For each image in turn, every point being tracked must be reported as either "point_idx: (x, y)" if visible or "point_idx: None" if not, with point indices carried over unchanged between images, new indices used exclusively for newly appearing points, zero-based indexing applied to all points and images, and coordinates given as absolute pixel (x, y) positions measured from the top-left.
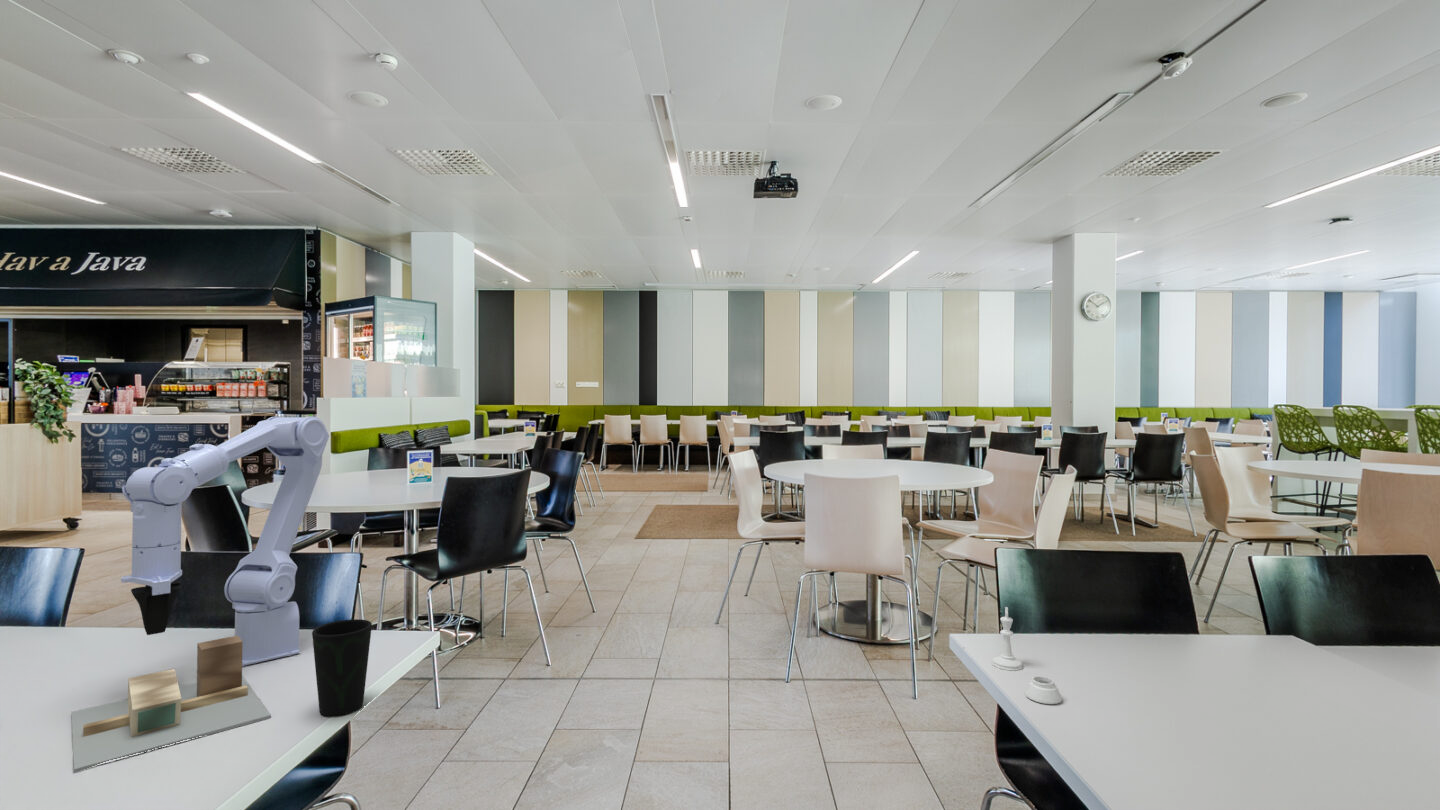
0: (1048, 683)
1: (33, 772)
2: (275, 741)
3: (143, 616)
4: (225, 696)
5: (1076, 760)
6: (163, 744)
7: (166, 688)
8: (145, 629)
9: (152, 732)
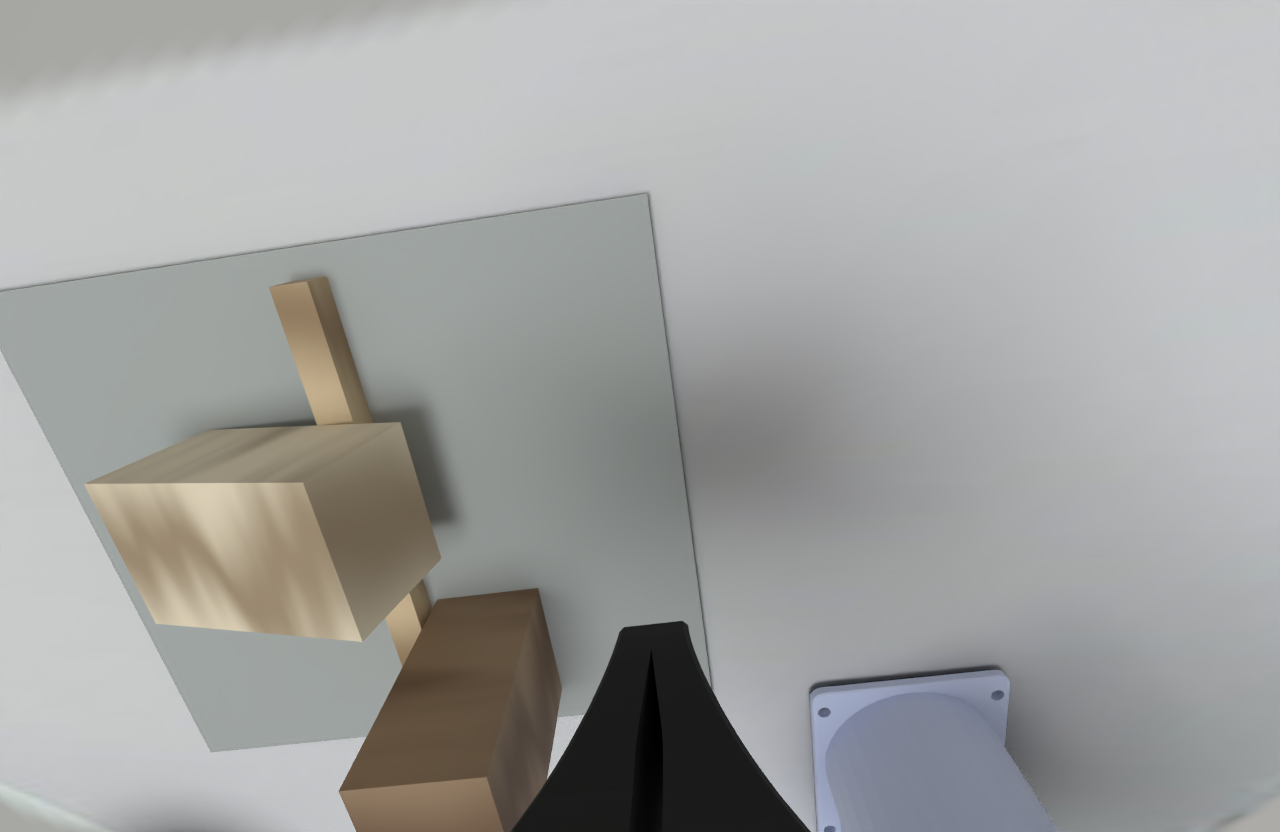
0: None
1: (41, 165)
2: (27, 743)
3: (573, 741)
4: None
5: None
6: (89, 518)
7: (219, 594)
8: (615, 652)
9: None
